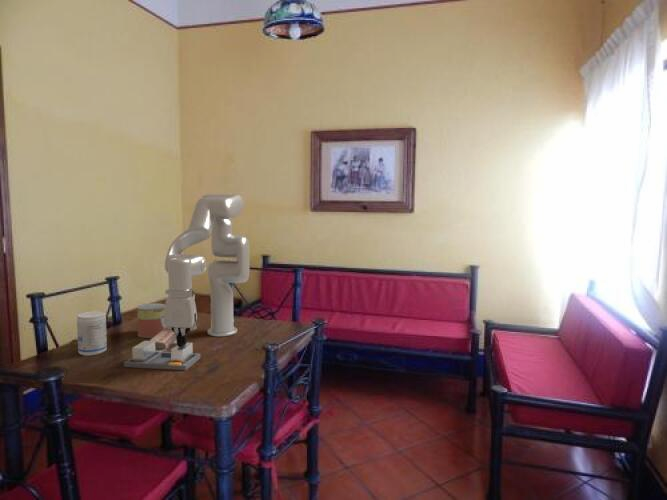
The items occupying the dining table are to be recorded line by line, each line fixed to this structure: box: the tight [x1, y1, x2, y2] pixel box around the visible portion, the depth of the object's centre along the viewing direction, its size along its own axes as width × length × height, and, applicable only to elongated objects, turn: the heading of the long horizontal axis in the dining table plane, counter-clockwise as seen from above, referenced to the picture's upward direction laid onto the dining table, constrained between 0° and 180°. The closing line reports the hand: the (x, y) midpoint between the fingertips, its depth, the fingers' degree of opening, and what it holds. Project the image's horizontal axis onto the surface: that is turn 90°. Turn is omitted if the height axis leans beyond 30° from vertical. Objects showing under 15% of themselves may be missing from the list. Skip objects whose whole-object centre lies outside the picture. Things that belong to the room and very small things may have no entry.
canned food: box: [136, 302, 167, 339], centre depth 191 cm, size 11×11×12 cm
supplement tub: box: [76, 310, 108, 357], centre depth 168 cm, size 10×10×15 cm
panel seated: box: [131, 340, 156, 362], centre depth 157 cm, size 8×4×6 cm, turn 173°
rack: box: [123, 350, 201, 371], centre depth 157 cm, size 12×22×3 cm, turn 83°
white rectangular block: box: [170, 341, 194, 365], centre depth 156 cm, size 8×4×6 cm, turn 172°
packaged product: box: [148, 329, 177, 352], centre depth 176 cm, size 18×5×10 cm
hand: (181, 345), depth 155 cm, fingers closed
